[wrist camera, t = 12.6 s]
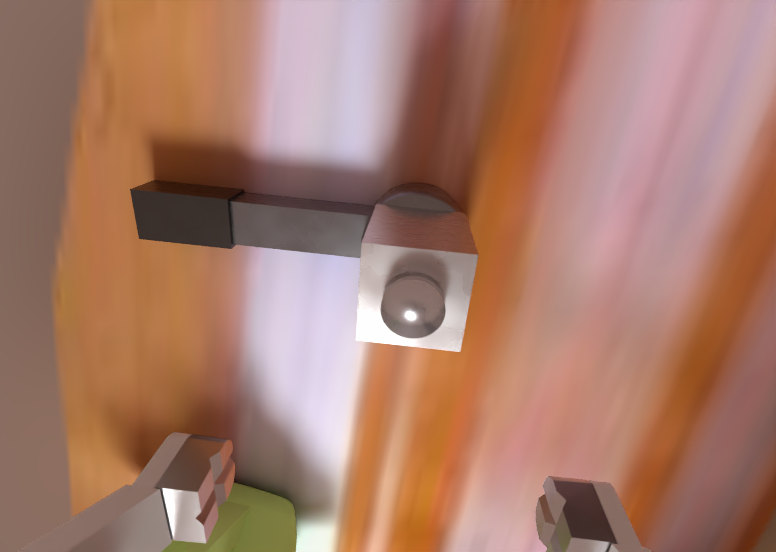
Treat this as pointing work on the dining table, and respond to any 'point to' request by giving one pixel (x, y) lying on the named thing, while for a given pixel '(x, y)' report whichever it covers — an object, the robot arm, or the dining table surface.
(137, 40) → the dining table surface
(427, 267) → the cube with grey knob
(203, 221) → the ratchet
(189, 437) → the robot arm
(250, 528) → the teapot
